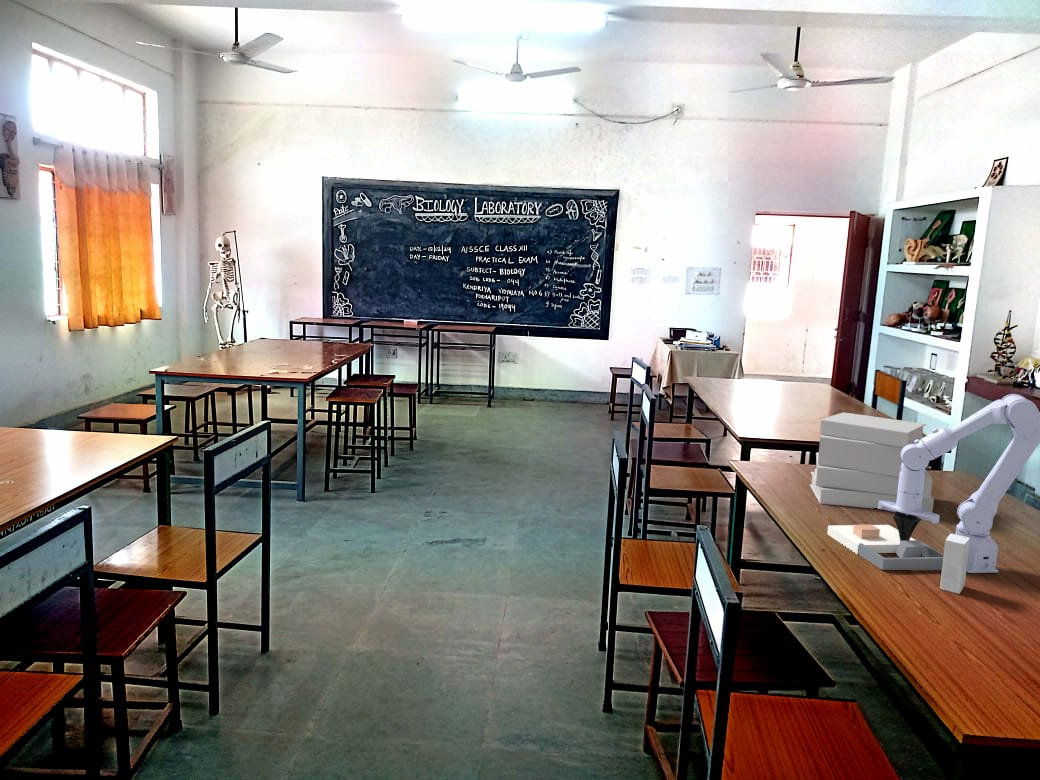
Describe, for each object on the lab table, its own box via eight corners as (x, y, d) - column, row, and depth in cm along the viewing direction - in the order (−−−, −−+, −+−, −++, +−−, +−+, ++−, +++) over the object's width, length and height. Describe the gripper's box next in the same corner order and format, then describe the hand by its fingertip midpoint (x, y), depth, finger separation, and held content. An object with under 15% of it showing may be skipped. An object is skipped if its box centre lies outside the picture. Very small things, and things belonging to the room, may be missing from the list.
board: (922, 553, 195) (923, 544, 195) (857, 554, 193) (858, 545, 193) (887, 533, 210) (888, 524, 209) (827, 534, 208) (828, 525, 207)
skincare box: (944, 581, 177) (950, 532, 175) (964, 586, 175) (970, 537, 173) (938, 589, 173) (944, 539, 171) (959, 594, 170) (966, 544, 168)
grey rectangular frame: (949, 569, 184) (950, 558, 184) (882, 571, 182) (883, 559, 182) (921, 553, 195) (922, 542, 194) (857, 554, 193) (859, 543, 192)
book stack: (941, 518, 224) (951, 435, 220) (817, 507, 232) (825, 426, 228) (912, 491, 253) (921, 416, 249) (803, 482, 261) (810, 409, 257)
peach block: (878, 538, 198) (879, 529, 198) (861, 538, 197) (862, 529, 197) (870, 533, 202) (871, 524, 201) (852, 533, 201) (853, 524, 201)
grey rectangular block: (913, 552, 193) (919, 558, 191) (895, 553, 193) (901, 559, 190) (918, 540, 192) (924, 546, 189) (900, 540, 191) (906, 546, 189)
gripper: (947, 495, 187) (940, 547, 190) (889, 482, 199) (884, 531, 201) (934, 500, 183) (928, 553, 185) (876, 486, 194) (870, 536, 197)
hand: (904, 542), depth 193 cm, fingers closed
